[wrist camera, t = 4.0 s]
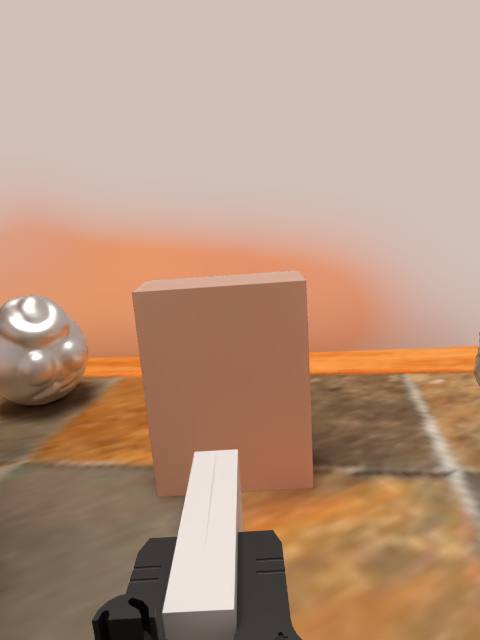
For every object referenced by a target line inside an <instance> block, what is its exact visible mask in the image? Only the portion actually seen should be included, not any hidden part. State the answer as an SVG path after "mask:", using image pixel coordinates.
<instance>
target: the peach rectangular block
mask: <svg viewBox="0 0 480 640" xmlns="http://www.w3.org/2000/svg"><path fill="white" fill-rule="evenodd" d="M132 297H133V306H134V313H135V322H136V330H137V337H138V345H139V353H140V361H141V369H142V377H143V385H144V393H145V401H146V409H147V417H148V425H149V433H150V440H151V448H152V456H153V464H154V472H155V480H156V488H157V496H158V497H166V496H183V495H186V493H187V488H188V483H189V478H190V473H191V468H192V463H193V458H194V453H195V452H201V451H217V450H234V449H238V458H239V471H240V484H241V492H251V491H269V490H286V489H303V488H314V481H313V454H312V427H311V400H310V373H309V348H308V322H307V321H308V320H307V294H306V280H305V279H304V278H303V277H302V275H301V274H300V273H299V272H298V271H283V272H269V273H255V274H241V275H225V276H210V277H197V278H182V279H168V280H153V281H147V282H145V283H144V284H143V285H141V286H140V287H138V288H137V289H136V290H134V291H133V292H132Z"/></svg>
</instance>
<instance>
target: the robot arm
mask: <svg viewBox="0 0 480 640" xmlns="http://www.w3.org/2000/svg"><path fill="white" fill-rule="evenodd" d="M92 624H93V630H94V635H95V640H302V639H301V638H300V637H299V636H298V635H297V634H296V632H295V630H294V628H293V627H292V623H291V619H290V611H289V602H288V593H287V585H286V576H285V567H284V559H283V550H282V542H281V541H280V540H279V538H278V537H277V535H276V534H275V533H274V531H273V530H268V531H250V532H243V509H242V497H241V484H240V471H239V458H238V449H234V450H217V451H201V452H195V453H194V458H193V463H192V468H191V473H190V478H189V483H188V488H187V493H186V498H185V503H184V507H183V512H182V517H181V522H180V527H179V532H178V537H165V538H150V539H149V540H148V541H147V542H146V544H145V545H144V546H143V547H142V548H141V550H140V551H139V552H138V555H137V559H136V562H135V565H134V570H133V572H132V575H131V578H130V583H129V585H128V588H127V591H126V594H125V595H120V596H117V597H115V598H114V599H112V600H110V601H108V602H107V603H105V604H104V605H103V606H102V607H101V608H100V609H99V610H98V611H97V613H96V615H95V616H94V618H93V620H92Z"/></svg>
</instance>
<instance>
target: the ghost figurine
mask: <svg viewBox="0 0 480 640" xmlns="http://www.w3.org/2000/svg"><path fill="white" fill-rule="evenodd" d="M87 362H88V346H87V342H86V339H85V336H84V334H83V332H82V330H81V329H80V328H79V326H78V325H77V324H76V322H75V321H74V320H72V319H71V318H70V317H68V316H67V314H66V313H65V312H64V310H63V309H61V307H60V306H58V305H57V304H56V303H55V302H53V301H52V300H50V299H48V298H46V297H42V296H34V295H31V296H24V297H18V298H14V299H12V300H10V301H7V302H6V303H5V304H4V305H3V306H2V307H1V308H0V395H1V396H2V397H4V398H6V399H7V400H10V401H12V402H15V403H18V404H23V405H42V404H47V403H50V402H53V401H56V400H58V399H60V398H62V397H63V396H65V395H66V394H68V393H69V392H70V391H71V390H72V389H74V387H75V386H76V385H77V384H78V383H79V381H80V380H81V378H82V376H83V375H84V372H85V370H86V367H87Z"/></svg>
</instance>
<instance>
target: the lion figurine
mask: <svg viewBox="0 0 480 640" xmlns="http://www.w3.org/2000/svg"><path fill="white" fill-rule="evenodd" d="M479 341H480V340H479ZM474 374H475V377H476V380H477V382H478V384H479V386H480V346H479V347H478V354H477V356H476V361H475V367H474Z"/></svg>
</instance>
